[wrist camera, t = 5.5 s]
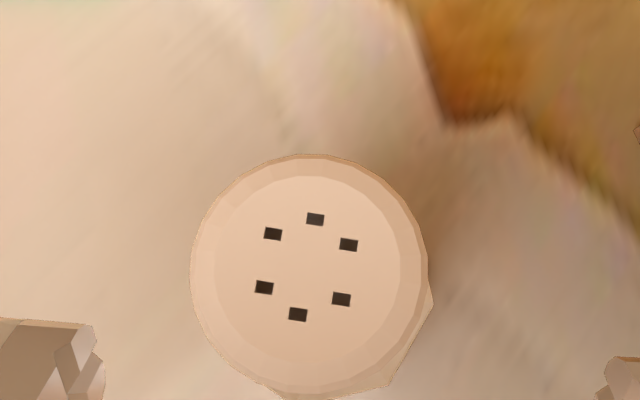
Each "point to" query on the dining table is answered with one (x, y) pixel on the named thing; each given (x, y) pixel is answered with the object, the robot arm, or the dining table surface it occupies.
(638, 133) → the walnut block
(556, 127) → the dining table surface
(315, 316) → the pepper shaker
